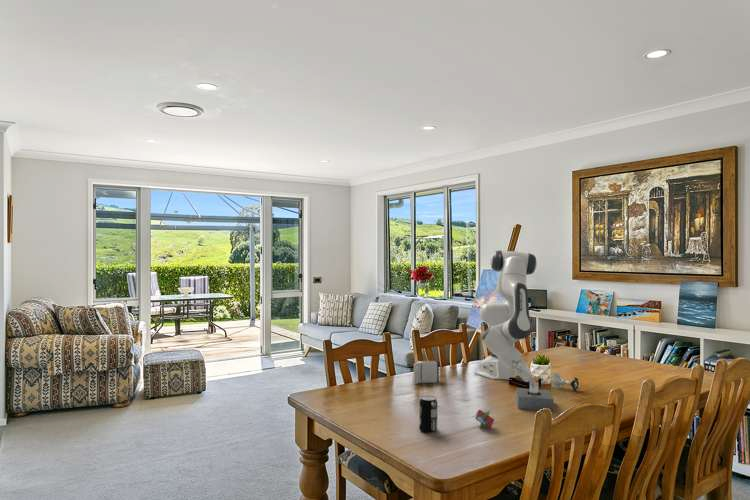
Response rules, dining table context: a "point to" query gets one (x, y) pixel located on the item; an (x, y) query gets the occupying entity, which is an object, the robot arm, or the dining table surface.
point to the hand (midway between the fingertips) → (535, 382)
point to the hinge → (426, 371)
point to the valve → (563, 382)
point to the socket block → (534, 399)
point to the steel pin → (534, 389)
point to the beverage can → (428, 414)
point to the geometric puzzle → (484, 419)
